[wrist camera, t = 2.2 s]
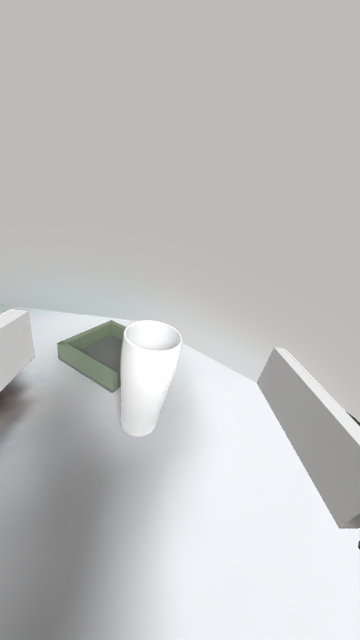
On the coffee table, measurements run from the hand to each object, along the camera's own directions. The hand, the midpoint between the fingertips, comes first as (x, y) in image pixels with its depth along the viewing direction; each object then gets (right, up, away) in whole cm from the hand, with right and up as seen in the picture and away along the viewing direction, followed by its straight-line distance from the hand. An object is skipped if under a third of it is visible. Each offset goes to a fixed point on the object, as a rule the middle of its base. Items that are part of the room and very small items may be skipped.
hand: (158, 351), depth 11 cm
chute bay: (-13, -6, +28) cm, 32 cm away
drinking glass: (-5, -13, +17) cm, 22 cm away
